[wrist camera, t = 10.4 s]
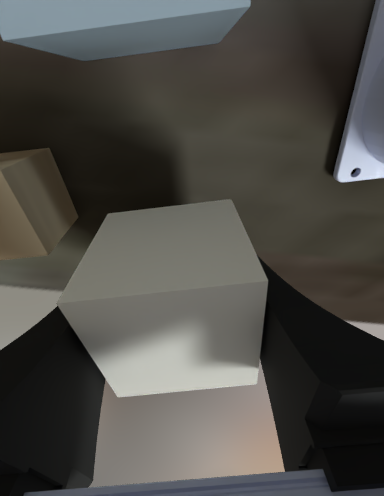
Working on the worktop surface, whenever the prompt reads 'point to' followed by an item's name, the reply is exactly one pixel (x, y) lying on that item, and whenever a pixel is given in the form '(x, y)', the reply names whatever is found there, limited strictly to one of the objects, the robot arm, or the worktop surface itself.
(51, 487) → the robot arm
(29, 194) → the letter cube
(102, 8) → the cover
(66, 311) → the cover
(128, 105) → the worktop surface
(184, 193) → the worktop surface
